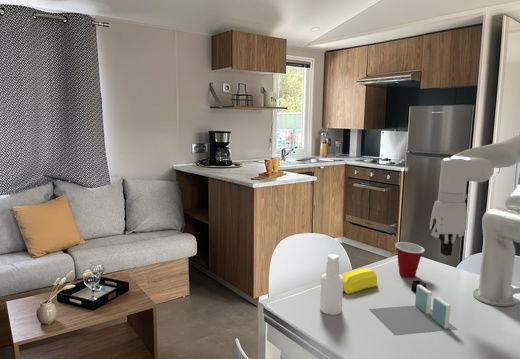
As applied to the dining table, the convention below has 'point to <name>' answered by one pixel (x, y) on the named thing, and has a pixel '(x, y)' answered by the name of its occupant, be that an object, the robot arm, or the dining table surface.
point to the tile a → (423, 299)
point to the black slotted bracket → (417, 284)
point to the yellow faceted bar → (358, 280)
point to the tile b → (441, 312)
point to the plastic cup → (408, 258)
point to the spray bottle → (331, 287)
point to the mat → (408, 320)
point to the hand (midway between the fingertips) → (445, 254)
